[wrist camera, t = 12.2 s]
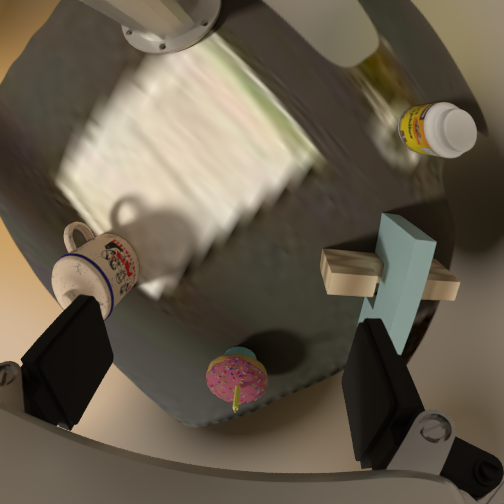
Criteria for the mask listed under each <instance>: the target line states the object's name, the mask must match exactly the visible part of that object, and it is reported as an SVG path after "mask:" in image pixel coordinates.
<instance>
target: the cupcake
mask: <svg viewBox="0 0 504 504" xmlns="http://www.w3.org/2000/svg"><path fill="white" fill-rule="evenodd" d="M206 380H207V384H208V387H209V389H210V391H212V393H213V394H215V395H217V396H218V397H219V398H221V399H222V400H225V401H228V402H229V403H230V402H231V403H233V410H235V413H236V410H238V407H239V404H240V403H242V404H244V403H249V402H253V401H254V400H257V399H258V398H260V396H261V395H262V394H263V393H264V392H265V391H266V390H267V383H268V377H267V372H266V369H265V367H264V366H263V365H262V363H260V362H259V361H257V359H256V356H255V354H254V353H253V352H252V351H251V350H249V349H247V348H245V347H233V348H230V349H229V350H227V351H226V353H225V354H224V355H221V356H219V357H218V358H216V359H214V360H213V361H212V362H211V363H210V365H209V368H208V371H207V373H206Z"/></svg>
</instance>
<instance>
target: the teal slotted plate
mask: <svg viewBox="0 0 504 504" xmlns="http://www.w3.org/2000/svg"><path fill="white" fill-rule="evenodd" d="M435 247H436V241H435V240H433V239H432V238H431V237H429V236H428V235H427V234H425V233H424V232H423V231H421V230H420V229H419V228H417V227H416V226H414V225H413V224H412V223H410V222H409V221H407V220H406V219H405V218H403V217H402V216H400V215H396V214H388V213H382V217H381V223H380V228H379V234H378V239H377V244H376V249H375V253H376V254H377V255H378V256H379V258H380V259H381V260H382V262H383V263H384V268H383V273H382V277H381V281H380V285H379V289H378V293H377V296H376V295H373V297H365V298H364V302H363V306H362V310H361V314H360V318H359V321H358V324H359V322H363V321H364V319H365V318H380V319H382V321H383V323H384V325H385V327H386V329H387V331H388V334H389V336H390V338H391V340H392V342H393V345H394V347H395V349H396V351H397V353H398V354H399V355H401V353H402V350H403V348H404V345H405V343H406V340H407V338H408V335H409V332H410V329H411V327H412V324H413V321H414V318H415V315H416V312H417V309H418V306H419V303H420V300H421V297H422V294H423V291H424V287H425V284H426V281H427V277H428V273H429V270H430V266H431V262H432V259H433V255H434V251H435ZM357 326H358V325H357Z"/></svg>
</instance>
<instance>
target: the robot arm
mask: <svg viewBox="0 0 504 504" xmlns="http://www.w3.org/2000/svg"><path fill="white" fill-rule="evenodd" d="M79 1H81V2H83V3H85V4H87V5H89V6H91V7H92V8H94V9H96V10H98V11H100V12H101V13H103V14H105V15H107V16H108V17H110V18H112V19H113V20H115V21H117V22H118V23H120V24H121V25H122V31H123V34H124V36H125V38H126V39H127V41H128V42H129V43H130V44H131V45H132V46H134V47H135V48H137V49H138V50H140V51H143V52H146V53H149V54H157V55H160V54H170V53H174V52H178V51H180V50H183V49H186V48H188V47H189V46H191V45H193V44H195V43H196V42H198V41H199V40H200V39H202V38H203V37H204V36H205V35H206V34H207V33H208V32H209V31H210V30H211V29H212V27H213V26H214V24H215V23H216V21H217V19H218V17H219V15H220V11H221V6H222V4H221V0H79ZM205 24H208V25H207V26H205ZM164 47H166V48H165V49H164ZM21 361H22V363H23V365H22V366H21V367H20V366H19V365H18V364H17V363H15V362H13V361H6V362H3V363H0V504H504V477H503V474H504V471H503V466H502V464H501V462H500V461H499V459H498V458H496V457H495V456H494V455H492V454H490V453H488V452H486V451H483V450H481V449H479V448H477V447H475V446H473V445H471V444H469V443H467V442H466V441H464V440H462V439H460V438H457V437H456V436H455V435H456V427H455V424H454V422H453V420H452V419H451V418H450V417H449V416H448V415H447V414H445V413H443V412H441V411H437V410H427V411H425V409H424V406H423V404H422V401H421V399H420V397H419V394H418V392H417V389H416V387H415V384H414V382H413V380H412V377H411V375H410V373H409V371H408V368H407V366H406V364H405V361H404V359H403V358H402V356H401V355H399V354H398V353H397V351H396V349H395V347H394V345H393V342H392V340H391V338H390V336H389V334H388V331H387V329H386V327H385V325H384V323H383V321H382V319H380V318H365V319H364V321H363V322H359V324H358V326H357V330H356V333H355V337H354V340H353V344H352V347H351V351H350V354H349V357H348V361H347V364H346V367H345V370H344V373H343V376H342V389H343V393H344V398H345V403H346V409H347V415H348V419H349V425H350V431H351V437H352V442H353V449H354V454H355V459H356V461H360V463H361V468H362V469H365V468H372V470H370V471H353V472H339V473H338V472H337V473H264V472H249V471H237V470H227V469H219V468H211V467H204V466H198V465H191V464H186V463H179V462H175V461H170V460H165V459H160V458H155V457H151V456H147V455H143V454H139V453H135V452H132V451H128V450H124V449H121V448H117V447H114V446H110V445H107V444H104V443H101V442H98V441H95V440H92V439H89V438H86V437H83V436H81V435H78V434H75V433H72V432H70V431H71V430H72V428H73V426H74V425H76V424H78V422H79V421H80V419H81V417H82V415H83V413H84V411H85V410H86V408H87V406H88V404H89V402H90V400H91V399H92V397H93V395H94V393H95V392H96V390H97V388H98V387H99V385H100V383H101V381H102V379H103V378H104V376H105V374H106V373H107V371H108V369H109V367H110V366H111V364H112V362H113V352H112V348H111V345H110V342H109V338H108V335H107V331H106V327H105V323H104V320H103V316H102V312H101V308H100V304H99V302H98V301H97V300H96V298H95V297H94V296H90V295H84V294H80V295H78V296H77V297H76V298H75V300H74V301H73V302H72V303H71V304H70V305H69V306H68V307H67V308H66V309H65V310H64V311H63V312H62V313H61V314H60V315H59V316H58V317H57V318H56V320H55V321H54V322H53V323H52V324H51V325H50V326H49V327H48V328H47V329H46V330H45V332H44V333H43V334H42V335H41V336H40V337H39V338H38V339H37V341H36V342H35V343H34V344H33V345H32V346H31V348H30V349H29V350H28V351H27V352H26V353H25V354H24V356H23V357H22V358H21ZM57 425H59V426H60V427H62V428H64V429H62V428H60V427H57ZM65 429H67V430H69V431H67V430H65Z"/></svg>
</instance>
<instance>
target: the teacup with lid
mask: <svg viewBox="0 0 504 504" xmlns="http://www.w3.org/2000/svg"><path fill="white" fill-rule="evenodd" d="M73 229H77V230H79V231H81V232H82V233H83V235H84V236H85V238H86V240H87V243H86V244H84V245H83V246H81V247H80V248H78V249H77V248H76V246H75V244H74V241H73V237H72V232H73ZM64 242H65V245H66V248H67V250H68V252H69V254H66V255H64V256H62V257H61V258H60V259H59V260H58V261H57V263H56V264H55V266H54V269H53V272H52V286H53V290H54V293H55V296H56V298H57V300H58V302H59V303H60V305H61V306H62V307H63V309H64V310H65V309H66V308H67V307H68V306H69V305H70V304H71V303H72V302H73V301H74V300H75V298H76V297H77V296H78V295H80V294H84V295H90V296H94V297H95V298H96V300H97V301H98V302H99V304H100V308H101V312H102V316H103V320H106V319H107V318H108V317H109V316H110V314H111V312H112V310H113V308H114V307H115V306H116V305H117V304H118V302H119V301H120V300H121V299H122V298H123V297H124V296H125V295H126V293H127V292H128V291H129V290H130V289H131V288H132V287H133V286H134V284H135V283H136V281H137V279H138V276H139V261H138V258H137V255H136V253H135V251H134V250H133V248H132V247H131V246H130V244H129V243H128V242H126V241H125V240H124V239H123V238H121V237H119V236H117V235H114V234H102V235H99V236H97V237H95V238H94V236H93V234H92V232H91V230H90V229H89V227H88V226H86V225H85V224H83V223H81V222H74V223H71V224H69V225H68V226H67V227H66V229H65V231H64Z"/></svg>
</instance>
